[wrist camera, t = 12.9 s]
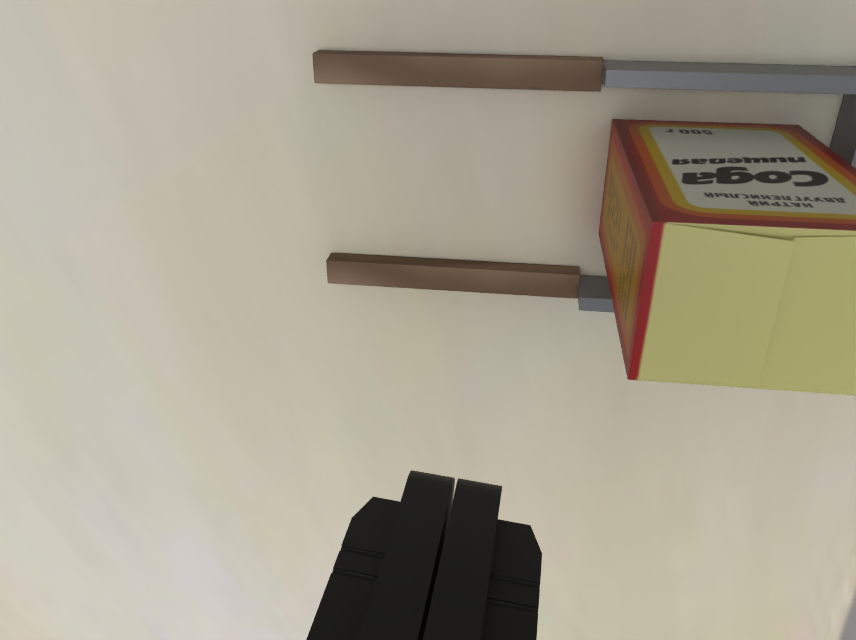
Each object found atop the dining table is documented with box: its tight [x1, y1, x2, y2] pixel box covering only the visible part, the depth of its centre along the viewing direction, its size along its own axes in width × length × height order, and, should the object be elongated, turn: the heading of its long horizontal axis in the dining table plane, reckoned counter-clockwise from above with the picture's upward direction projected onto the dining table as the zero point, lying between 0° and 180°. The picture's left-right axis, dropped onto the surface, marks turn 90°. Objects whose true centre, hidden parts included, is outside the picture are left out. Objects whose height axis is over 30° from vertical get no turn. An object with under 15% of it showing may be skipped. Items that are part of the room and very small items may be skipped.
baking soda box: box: [599, 119, 856, 395], centre depth 33 cm, size 10×6×16 cm
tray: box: [578, 60, 856, 312], centre depth 39 cm, size 13×13×3 cm
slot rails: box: [313, 50, 604, 298], centre depth 41 cm, size 13×15×1 cm
